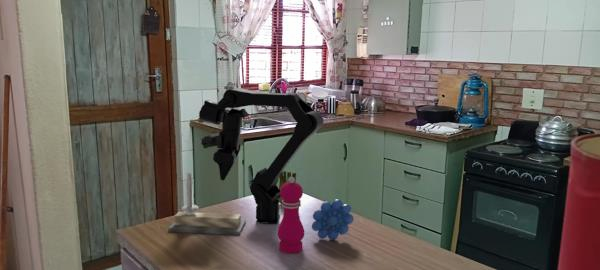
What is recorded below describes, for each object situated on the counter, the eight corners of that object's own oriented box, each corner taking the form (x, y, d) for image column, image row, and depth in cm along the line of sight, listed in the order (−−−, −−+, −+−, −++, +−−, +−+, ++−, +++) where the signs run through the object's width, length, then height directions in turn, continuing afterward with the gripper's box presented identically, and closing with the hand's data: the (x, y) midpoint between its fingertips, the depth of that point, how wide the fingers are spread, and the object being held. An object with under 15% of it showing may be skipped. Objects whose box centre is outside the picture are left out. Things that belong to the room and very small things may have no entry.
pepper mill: (301, 255, 120) (302, 181, 116) (274, 253, 121) (274, 179, 117) (306, 244, 127) (307, 174, 123) (280, 241, 128) (281, 172, 124)
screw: (186, 210, 140) (201, 212, 139) (178, 216, 136) (194, 218, 134) (185, 169, 138) (200, 170, 137) (177, 173, 133) (192, 175, 132)
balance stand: (245, 223, 141) (245, 211, 141) (239, 234, 132) (239, 222, 132) (178, 220, 143) (178, 208, 142) (168, 231, 134) (168, 219, 133)
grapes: (352, 234, 134) (353, 195, 132) (353, 244, 127) (354, 203, 125) (312, 232, 135) (313, 193, 132) (310, 242, 128) (311, 201, 126)
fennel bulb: (297, 204, 159) (297, 171, 156) (288, 208, 155) (288, 174, 153) (284, 201, 162) (284, 168, 160) (275, 204, 158) (275, 171, 156)
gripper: (211, 118, 152) (205, 162, 156) (199, 130, 134) (192, 181, 137) (244, 123, 152) (238, 168, 156) (237, 137, 134) (230, 187, 138)
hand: (224, 175), depth 147 cm, fingers open, 9 cm apart
